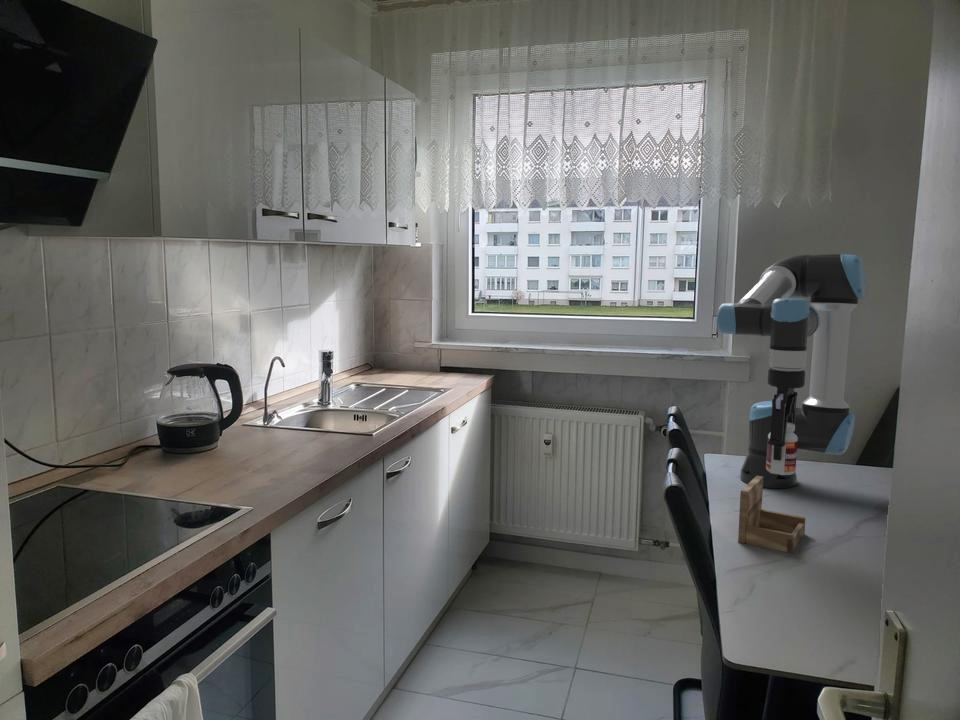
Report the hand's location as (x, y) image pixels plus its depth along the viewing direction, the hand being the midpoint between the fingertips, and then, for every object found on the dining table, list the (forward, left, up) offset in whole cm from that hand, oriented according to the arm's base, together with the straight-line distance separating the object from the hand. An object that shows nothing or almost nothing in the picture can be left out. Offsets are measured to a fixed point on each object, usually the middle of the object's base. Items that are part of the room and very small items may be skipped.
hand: (780, 469), depth 162 cm
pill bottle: (0, 0, -1) cm, 1 cm away
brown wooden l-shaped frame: (0, -1, -16) cm, 16 cm away
